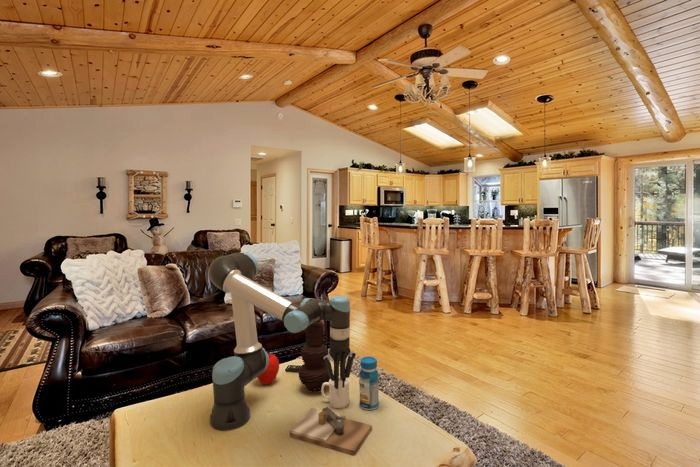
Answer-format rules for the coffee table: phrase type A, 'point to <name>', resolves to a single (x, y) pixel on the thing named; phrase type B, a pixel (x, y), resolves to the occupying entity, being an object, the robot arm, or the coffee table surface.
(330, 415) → the bar
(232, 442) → the coffee table surface
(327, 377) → the vase
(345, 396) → the cup
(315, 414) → the door board
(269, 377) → the apple
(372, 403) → the beverage bottle
